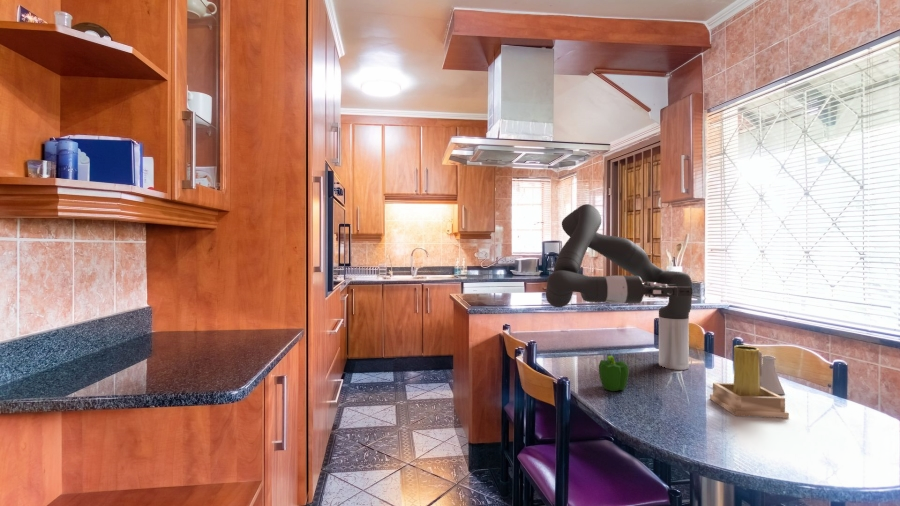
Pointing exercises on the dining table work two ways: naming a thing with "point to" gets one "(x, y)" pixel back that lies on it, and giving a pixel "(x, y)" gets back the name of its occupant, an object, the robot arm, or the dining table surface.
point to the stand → (749, 400)
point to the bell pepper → (613, 374)
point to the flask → (770, 376)
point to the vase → (746, 371)
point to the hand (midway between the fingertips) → (683, 289)
